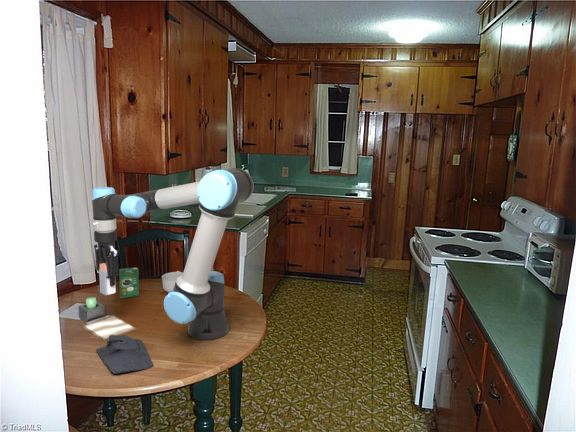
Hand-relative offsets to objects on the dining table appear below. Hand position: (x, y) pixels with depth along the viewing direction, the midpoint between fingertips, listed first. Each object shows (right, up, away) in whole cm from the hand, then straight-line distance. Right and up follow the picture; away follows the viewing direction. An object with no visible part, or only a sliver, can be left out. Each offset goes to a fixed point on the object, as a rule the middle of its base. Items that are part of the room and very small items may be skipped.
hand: (108, 291), depth 158 cm
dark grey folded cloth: (+13, -19, -17) cm, 29 cm away
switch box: (-11, -12, +11) cm, 20 cm away
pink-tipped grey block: (0, 0, 0) cm, 0 cm away
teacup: (+13, -7, +44) cm, 46 cm away
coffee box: (-5, -8, +34) cm, 36 cm away
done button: (-11, -9, +11) cm, 18 cm away
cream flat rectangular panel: (-1, -14, +3) cm, 15 cm away
